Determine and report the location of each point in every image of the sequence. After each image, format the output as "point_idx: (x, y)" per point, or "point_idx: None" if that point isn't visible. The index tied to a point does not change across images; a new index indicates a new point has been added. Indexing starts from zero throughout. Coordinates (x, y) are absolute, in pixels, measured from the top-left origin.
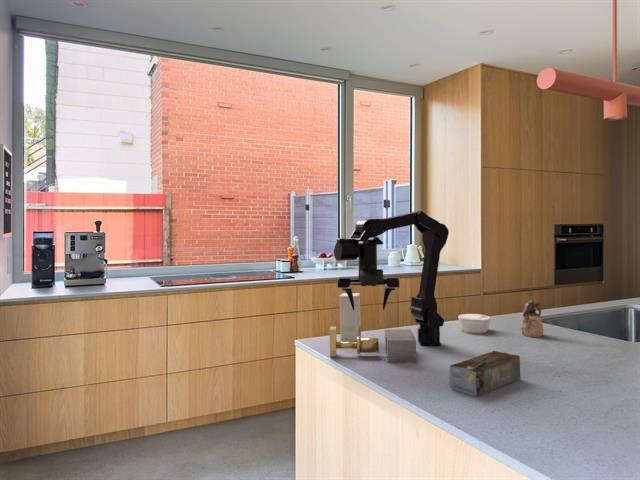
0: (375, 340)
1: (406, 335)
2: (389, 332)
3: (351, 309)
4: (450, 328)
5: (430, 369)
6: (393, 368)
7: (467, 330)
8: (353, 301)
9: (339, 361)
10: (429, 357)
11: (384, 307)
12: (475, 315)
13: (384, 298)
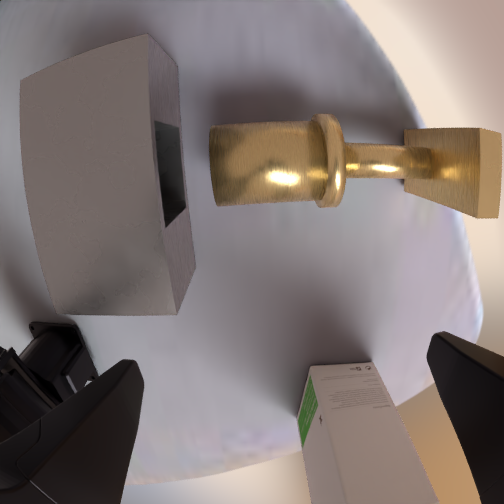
0: (227, 138)
1: (49, 172)
2: (139, 238)
3: (368, 467)
4: None
5: (49, 37)
6: (161, 6)
7: None
8: (493, 371)
9: (383, 79)
10: None
11: (109, 369)
12: None
13: (58, 436)
